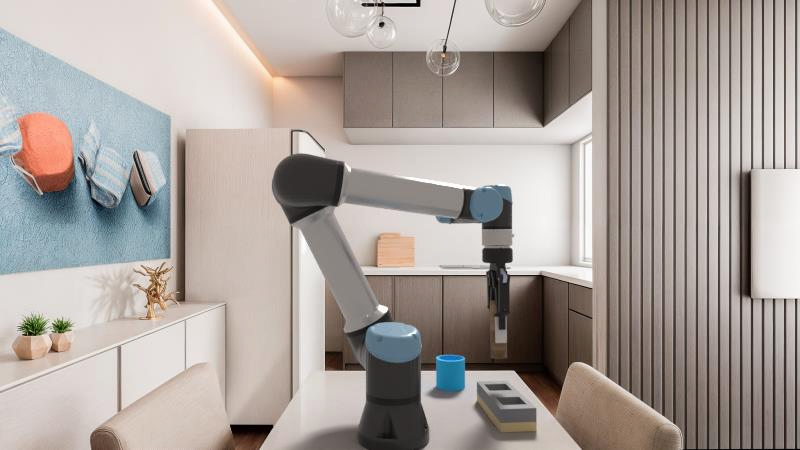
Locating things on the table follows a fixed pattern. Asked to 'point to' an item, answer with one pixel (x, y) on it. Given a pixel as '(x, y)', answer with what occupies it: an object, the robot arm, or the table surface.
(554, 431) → the table surface
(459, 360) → the mug
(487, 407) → the rail
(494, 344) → the peg
